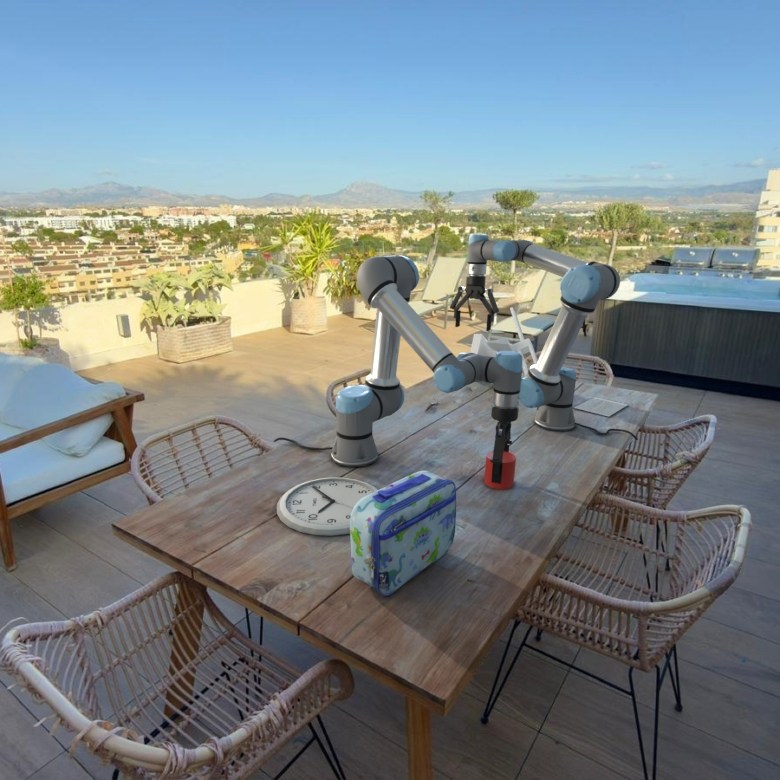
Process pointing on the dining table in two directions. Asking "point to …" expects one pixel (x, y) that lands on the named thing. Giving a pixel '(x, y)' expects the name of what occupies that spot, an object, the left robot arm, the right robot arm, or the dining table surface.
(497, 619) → the dining table surface
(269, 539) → the dining table surface
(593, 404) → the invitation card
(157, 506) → the dining table surface
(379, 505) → the lunch box
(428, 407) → the fork
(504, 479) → the canister
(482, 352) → the white plastic object
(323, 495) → the wall clock
